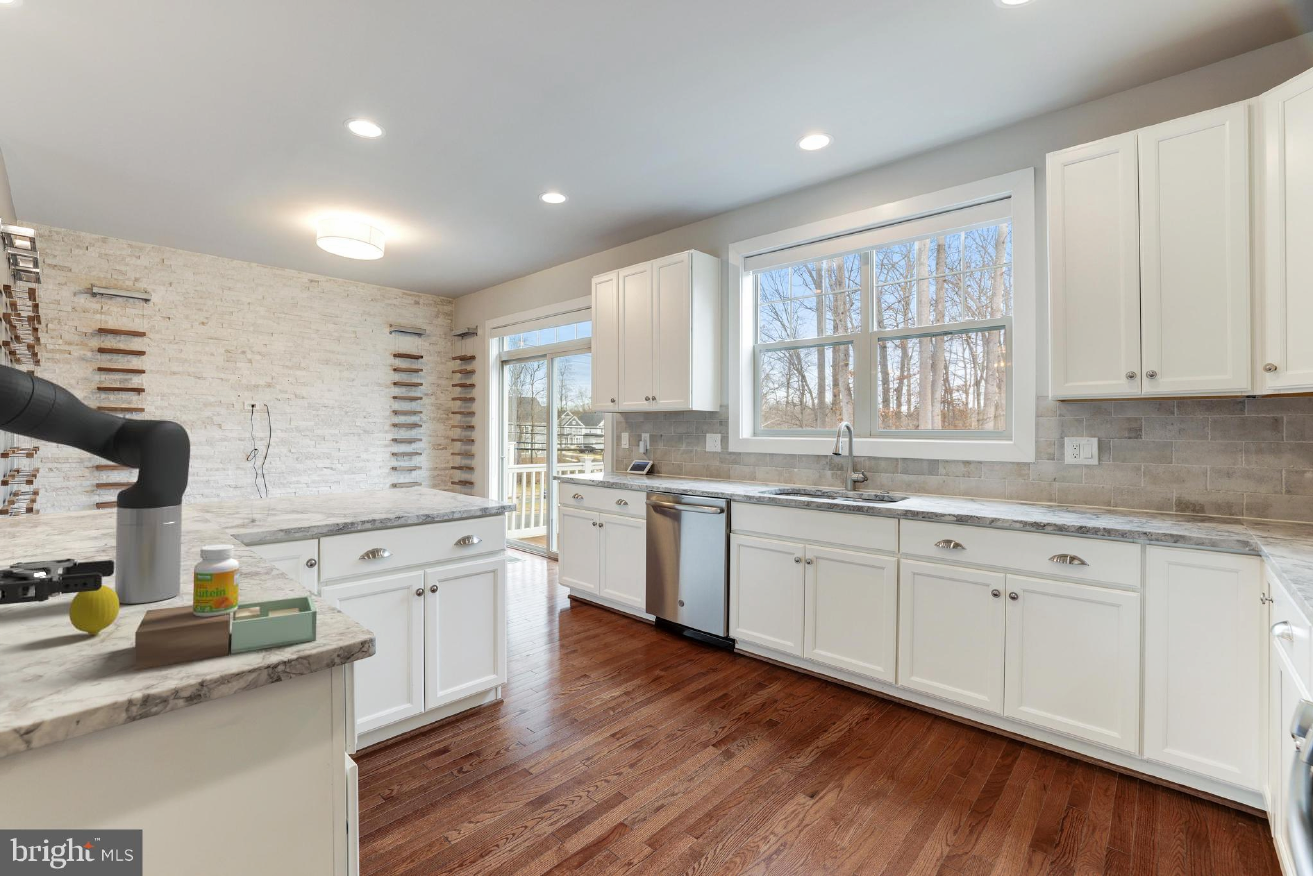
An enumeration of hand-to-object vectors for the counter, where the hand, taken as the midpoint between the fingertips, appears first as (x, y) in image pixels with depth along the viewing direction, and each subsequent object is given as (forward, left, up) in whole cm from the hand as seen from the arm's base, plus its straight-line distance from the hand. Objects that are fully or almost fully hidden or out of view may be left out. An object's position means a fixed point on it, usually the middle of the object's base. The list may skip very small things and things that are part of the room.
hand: (108, 574), depth 80 cm
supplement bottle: (0, +12, -7) cm, 14 cm away
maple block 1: (0, +14, -9) cm, 17 cm away
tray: (0, +19, -12) cm, 23 cm away
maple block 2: (0, +21, -8) cm, 22 cm away
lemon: (-14, -3, -12) cm, 19 cm away
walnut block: (0, +9, -12) cm, 15 cm away
